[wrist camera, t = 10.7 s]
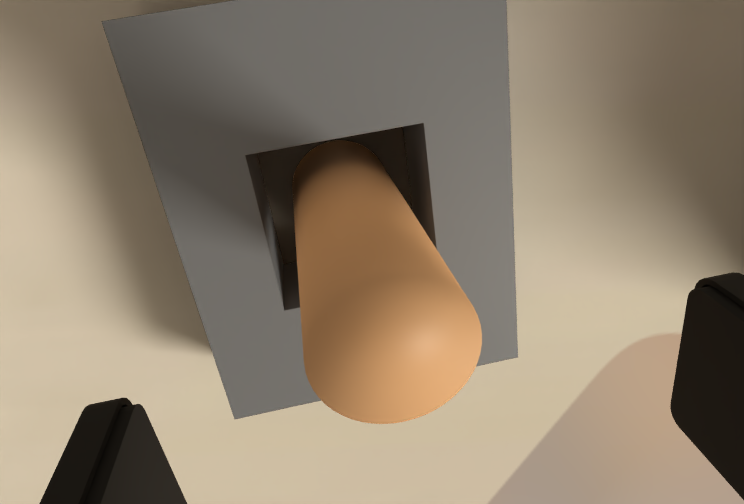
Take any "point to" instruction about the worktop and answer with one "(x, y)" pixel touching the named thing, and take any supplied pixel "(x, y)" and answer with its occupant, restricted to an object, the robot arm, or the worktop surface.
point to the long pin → (375, 293)
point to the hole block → (315, 124)
